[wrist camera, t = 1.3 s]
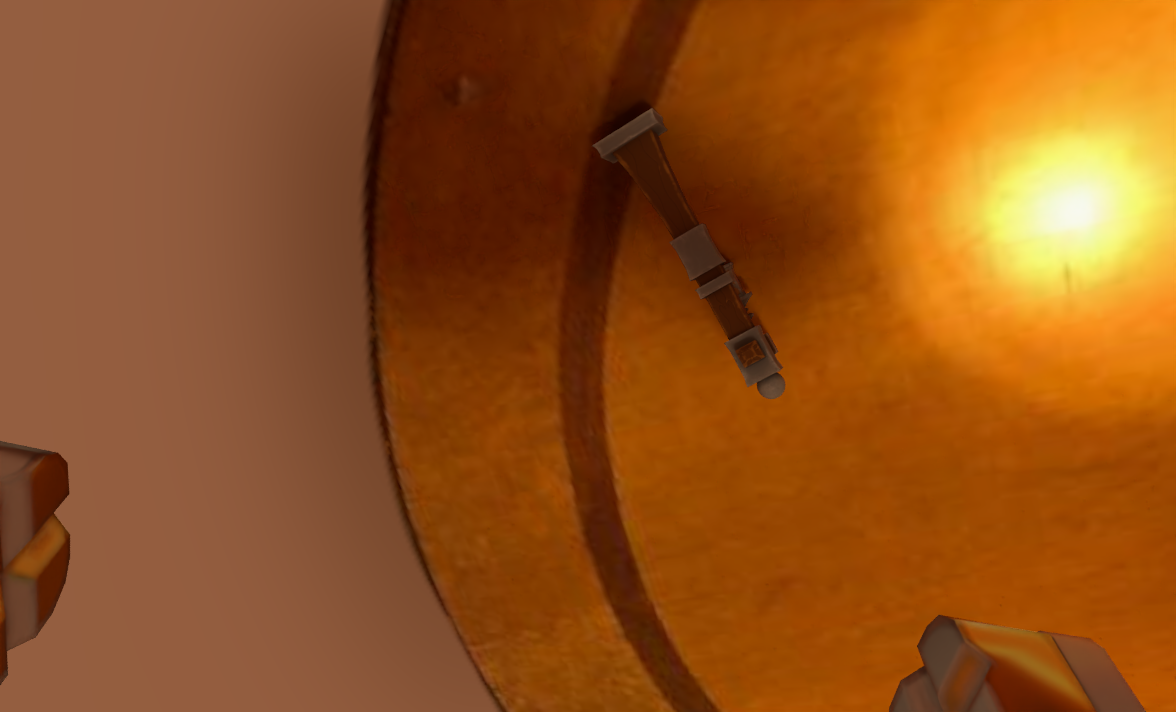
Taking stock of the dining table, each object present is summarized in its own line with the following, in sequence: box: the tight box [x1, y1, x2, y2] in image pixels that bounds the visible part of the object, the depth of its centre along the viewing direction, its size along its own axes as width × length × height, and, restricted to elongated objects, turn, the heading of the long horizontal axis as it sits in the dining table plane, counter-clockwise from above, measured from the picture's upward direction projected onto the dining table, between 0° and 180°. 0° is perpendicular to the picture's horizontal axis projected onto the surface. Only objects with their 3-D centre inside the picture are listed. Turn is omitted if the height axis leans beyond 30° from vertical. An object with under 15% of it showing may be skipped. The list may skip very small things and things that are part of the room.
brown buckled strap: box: [593, 108, 785, 399], centre depth 27 cm, size 2×8×4 cm, turn 33°
